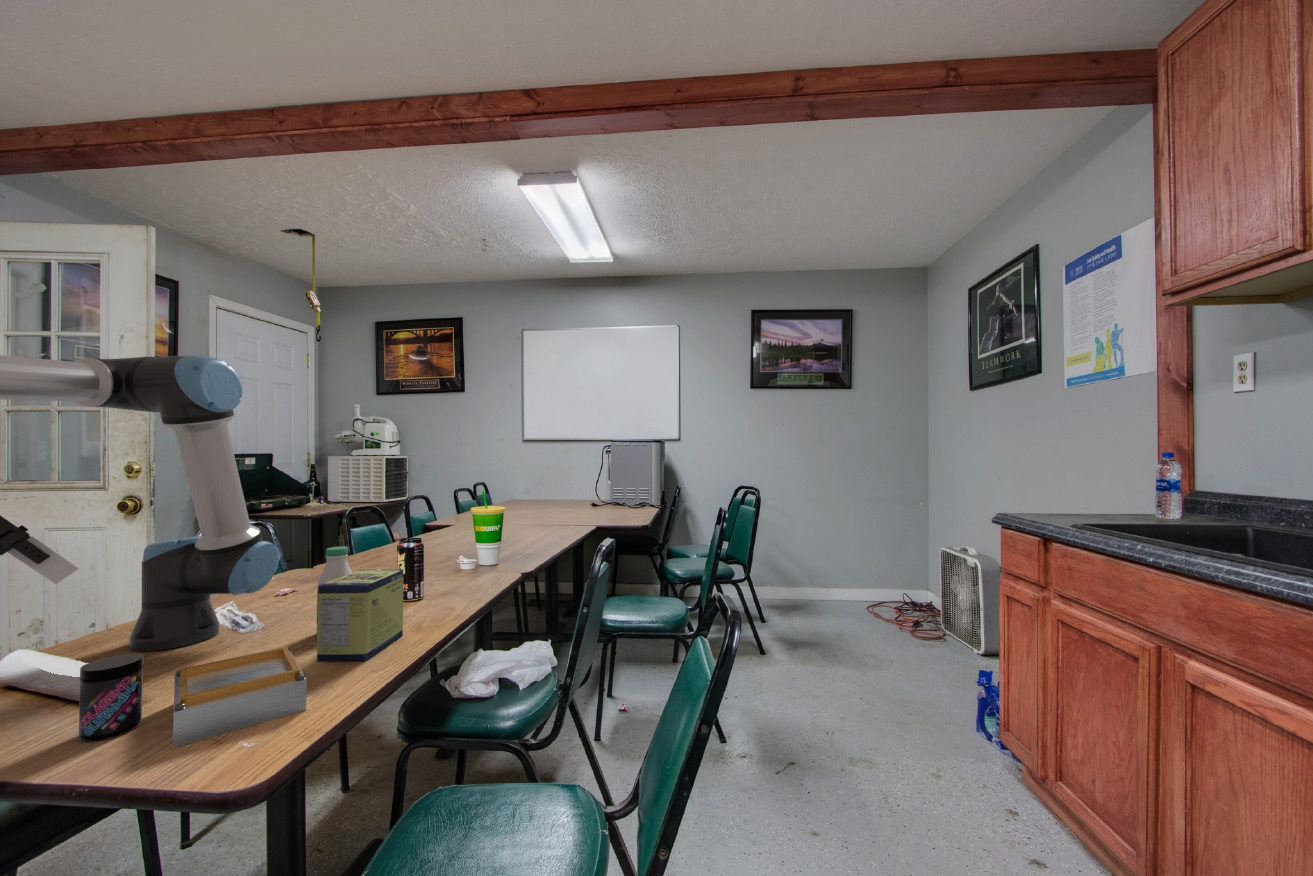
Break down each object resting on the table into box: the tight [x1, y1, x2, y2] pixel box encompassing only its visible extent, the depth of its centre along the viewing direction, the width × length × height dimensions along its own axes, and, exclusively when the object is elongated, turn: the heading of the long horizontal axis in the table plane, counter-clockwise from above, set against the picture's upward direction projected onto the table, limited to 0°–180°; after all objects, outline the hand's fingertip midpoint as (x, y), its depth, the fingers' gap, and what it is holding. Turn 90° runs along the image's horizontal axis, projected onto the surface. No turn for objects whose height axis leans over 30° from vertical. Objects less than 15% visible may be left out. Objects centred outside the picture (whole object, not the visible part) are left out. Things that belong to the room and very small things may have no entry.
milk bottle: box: [316, 546, 353, 629], centre depth 123 cm, size 8×8×20 cm
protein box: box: [316, 568, 404, 662], centre depth 113 cm, size 10×16×16 cm
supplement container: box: [77, 653, 145, 742], centre depth 79 cm, size 7×7×10 cm
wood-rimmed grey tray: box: [172, 646, 308, 748], centre depth 86 cm, size 18×16×6 cm
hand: (61, 572), depth 75 cm, fingers open, 13 cm apart
